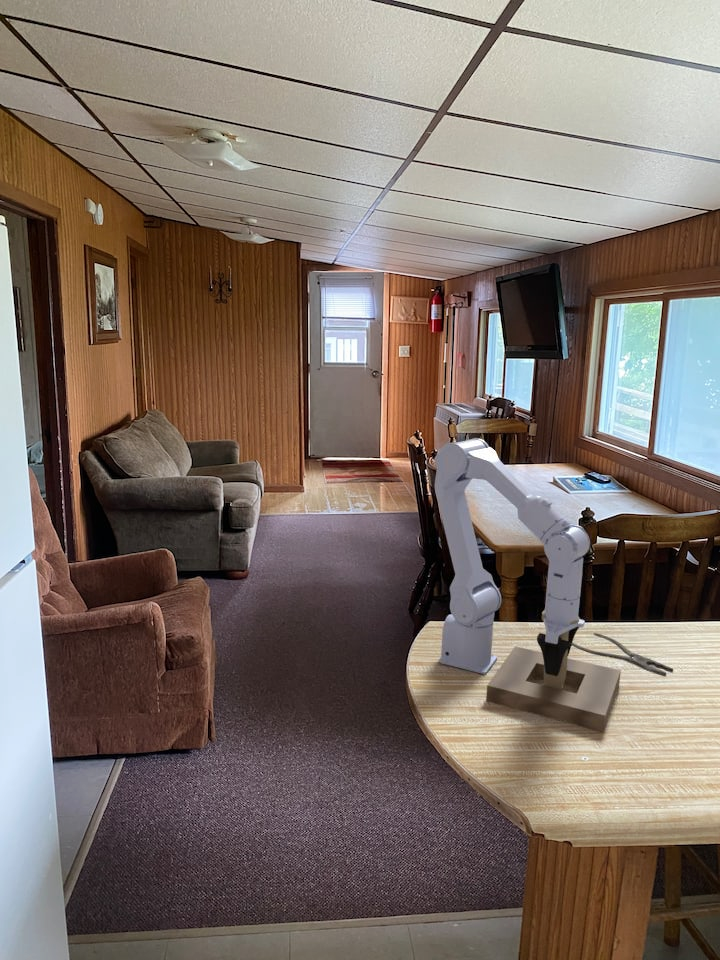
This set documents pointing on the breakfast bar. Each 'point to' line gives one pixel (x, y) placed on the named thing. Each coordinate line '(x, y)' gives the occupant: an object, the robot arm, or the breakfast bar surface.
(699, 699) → the breakfast bar surface
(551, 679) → the handle
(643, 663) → the pliers
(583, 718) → the socket plate
